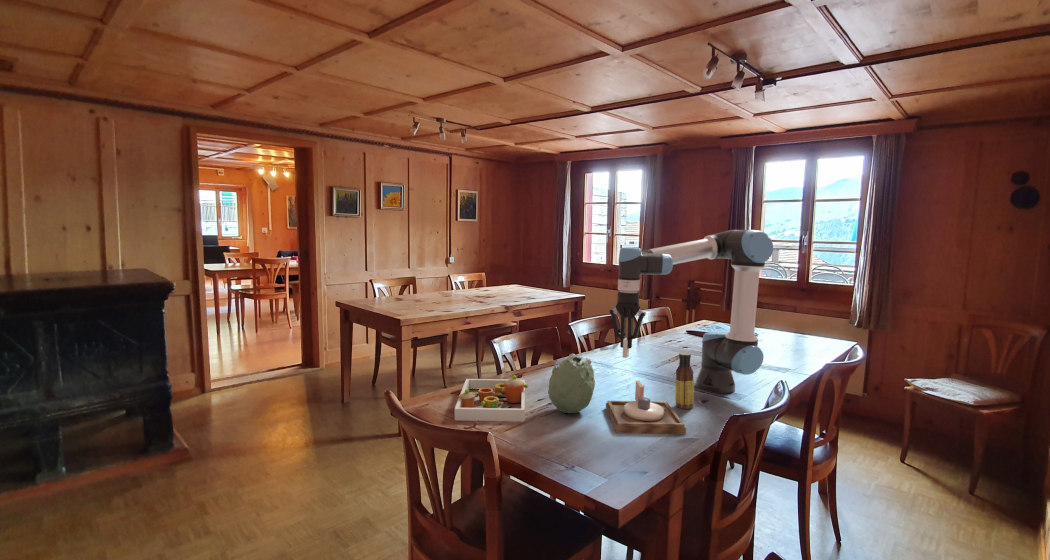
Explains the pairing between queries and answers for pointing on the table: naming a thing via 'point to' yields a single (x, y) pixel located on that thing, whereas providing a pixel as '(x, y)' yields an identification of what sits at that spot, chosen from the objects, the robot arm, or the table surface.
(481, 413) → the tea tray rim
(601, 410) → the table surface
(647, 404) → the dial
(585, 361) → the green monster figurine
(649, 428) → the brown wooden tray
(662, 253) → the robot arm
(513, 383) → the toy tea set
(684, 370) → the sauce bottle
